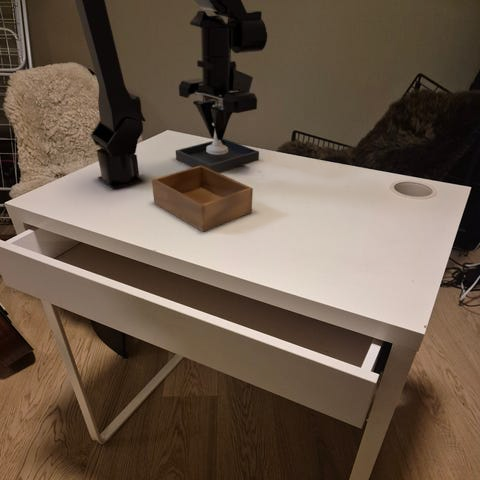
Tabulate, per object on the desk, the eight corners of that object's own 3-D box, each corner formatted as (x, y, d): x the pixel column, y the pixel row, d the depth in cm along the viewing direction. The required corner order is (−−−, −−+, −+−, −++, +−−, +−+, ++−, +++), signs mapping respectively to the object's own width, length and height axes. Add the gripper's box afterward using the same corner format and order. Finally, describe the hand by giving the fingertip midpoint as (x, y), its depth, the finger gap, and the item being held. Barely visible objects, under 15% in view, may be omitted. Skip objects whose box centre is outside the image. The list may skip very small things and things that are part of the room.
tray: (210, 175, 87) (210, 165, 85) (176, 159, 93) (175, 150, 92) (258, 160, 94) (259, 151, 93) (223, 146, 101) (223, 138, 100)
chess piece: (202, 149, 93) (201, 99, 87) (222, 146, 95) (222, 98, 89) (211, 156, 90) (211, 105, 83) (232, 153, 92) (232, 103, 85)
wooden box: (202, 231, 68) (201, 206, 65) (154, 203, 76) (151, 179, 73) (251, 212, 74) (252, 188, 71) (202, 187, 82) (201, 165, 79)
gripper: (279, 58, 80) (273, 142, 90) (216, 46, 90) (217, 123, 100) (236, 63, 74) (235, 152, 84) (175, 49, 84) (180, 131, 94)
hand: (216, 138), depth 91 cm, fingers closed on chess piece
